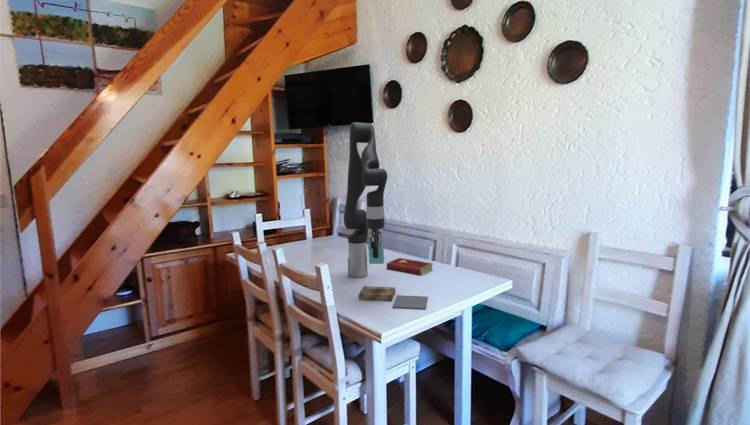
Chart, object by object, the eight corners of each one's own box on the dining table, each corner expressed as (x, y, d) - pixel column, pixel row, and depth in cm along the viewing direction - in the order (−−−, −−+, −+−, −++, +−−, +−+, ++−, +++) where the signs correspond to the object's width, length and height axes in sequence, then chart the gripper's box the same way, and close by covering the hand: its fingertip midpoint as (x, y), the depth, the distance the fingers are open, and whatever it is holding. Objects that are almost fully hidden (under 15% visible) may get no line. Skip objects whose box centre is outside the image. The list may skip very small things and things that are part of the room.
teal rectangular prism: (369, 263, 175) (368, 245, 174) (370, 262, 177) (369, 244, 176) (383, 263, 174) (382, 245, 173) (384, 262, 176) (383, 243, 175)
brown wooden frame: (358, 299, 174) (358, 292, 174) (364, 291, 184) (363, 284, 184) (391, 301, 172) (391, 293, 171) (395, 292, 181) (395, 286, 181)
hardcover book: (421, 276, 205) (421, 268, 204) (386, 270, 217) (386, 262, 217) (433, 270, 214) (433, 262, 213) (399, 264, 227) (399, 257, 226)
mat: (392, 308, 164) (392, 306, 164) (397, 296, 177) (397, 295, 177) (425, 309, 162) (425, 308, 161) (427, 297, 174) (427, 296, 174)
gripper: (370, 213, 180) (370, 252, 183) (362, 219, 166) (364, 261, 169) (387, 214, 178) (387, 253, 181) (381, 219, 165) (382, 261, 168)
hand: (376, 256), depth 175 cm, fingers closed on teal rectangular prism, 2 cm apart
